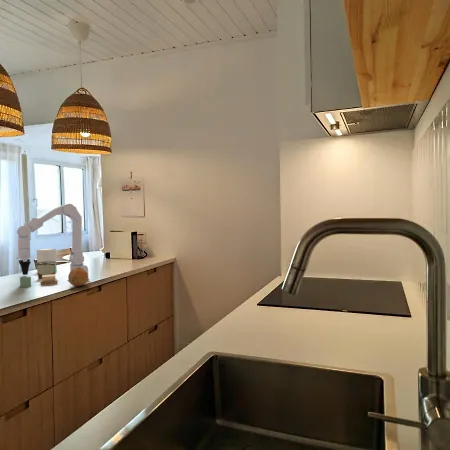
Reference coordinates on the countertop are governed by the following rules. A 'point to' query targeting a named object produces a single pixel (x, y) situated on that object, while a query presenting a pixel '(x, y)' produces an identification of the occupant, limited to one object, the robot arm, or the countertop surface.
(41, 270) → the food container
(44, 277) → the oak slab
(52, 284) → the walnut slab
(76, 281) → the onion
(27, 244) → the robot arm
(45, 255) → the supplement box
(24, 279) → the green cube
